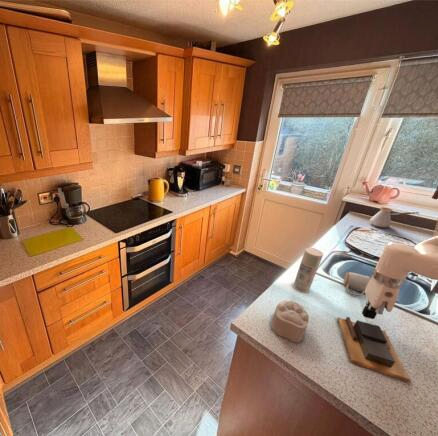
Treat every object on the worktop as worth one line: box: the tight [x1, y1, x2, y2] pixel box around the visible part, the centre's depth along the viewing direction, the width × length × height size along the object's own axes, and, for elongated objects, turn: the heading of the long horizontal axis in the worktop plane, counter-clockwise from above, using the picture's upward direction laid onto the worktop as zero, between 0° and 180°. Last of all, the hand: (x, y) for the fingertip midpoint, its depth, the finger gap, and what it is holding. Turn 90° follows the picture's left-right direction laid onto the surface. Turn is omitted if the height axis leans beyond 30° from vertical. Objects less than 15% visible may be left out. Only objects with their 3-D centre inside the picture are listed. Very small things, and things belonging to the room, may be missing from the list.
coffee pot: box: [369, 206, 420, 229], centre depth 161 cm, size 21×12×15 cm, turn 43°
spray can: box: [293, 247, 324, 293], centre depth 104 cm, size 6×6×20 cm
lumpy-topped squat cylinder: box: [271, 300, 310, 343], centre depth 87 cm, size 10×13×9 cm
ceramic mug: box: [342, 271, 371, 297], centre depth 105 cm, size 11×8×8 cm
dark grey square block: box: [354, 319, 387, 343], centre depth 82 cm, size 6×6×4 cm
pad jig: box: [337, 316, 411, 382], centre depth 80 cm, size 14×19×4 cm
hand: (367, 316), depth 87 cm, fingers closed
